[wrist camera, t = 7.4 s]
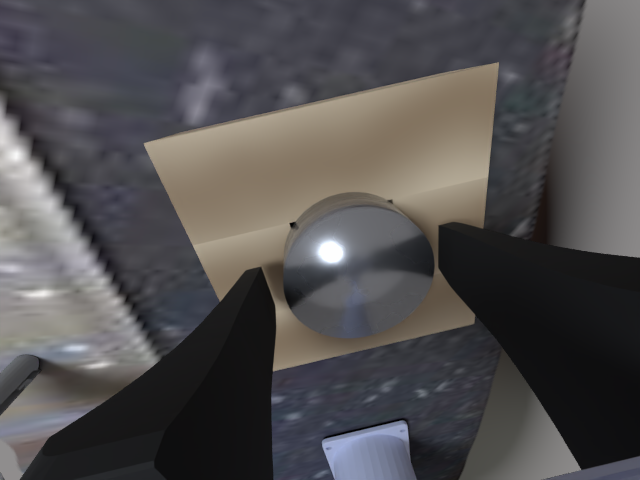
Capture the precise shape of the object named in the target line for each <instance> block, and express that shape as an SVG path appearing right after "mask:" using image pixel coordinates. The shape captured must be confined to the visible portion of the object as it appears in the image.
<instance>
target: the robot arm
mask: <svg viewBox="0 0 640 480" xmlns="http://www.w3.org/2000/svg"><path fill="white" fill-rule="evenodd" d="M438 268H439V270H440V271H441V273H442V275H443V276H444V278H445V279H446V281H447V282H448V284H449V285H450V287H451V288H452V289H453V290H454V291H455V293H456V294H457V295H458V296H459V297H460V298H461V299H462V301H463V302H464V303H465V304H466V305H467V306H468V307H469V308H470V310H471V311H472V312H473V313H474V314H475V315H476V316H477V317H478V318H479V320H480V321H481V322H482V323H483V324H484V325H485V326H486V327H487V329H488V330H489V331H490V332H491V333H492V335H493V336H494V337H495V338H496V339H497V341H498V342H499V343H500V345H501V346H502V347H503V349H504V350H505V352H506V353H507V354H508V356H509V357H510V358H511V360H512V361H513V363H514V364H515V365H516V367H517V368H518V370H519V371H520V373H521V374H522V376H523V377H524V378H525V380H526V381H527V383H528V384H529V386H530V387H531V389H532V390H533V392H534V393H535V395H536V396H537V398H538V399H539V401H540V402H541V404H542V406H543V407H544V409H545V410H546V412H547V413H548V415H549V417H550V418H551V420H552V421H553V423H554V425H555V426H556V428H557V429H558V431H559V433H560V434H561V436H562V437H563V439H564V441H565V443H566V444H567V446H568V448H569V449H570V451H571V453H572V454H573V456H574V458H575V459H576V461H577V463H578V465H579V466H580V468H581V470H580V471H576V472H572V473H568V474H563V475H559V476H555V477H551V478H547V479H543V480H640V258H637V257H628V256H618V255H610V254H601V253H594V252H587V251H581V250H575V249H568V248H562V247H557V246H552V245H547V244H542V243H538V242H533V241H529V240H525V239H520V238H516V237H512V236H509V235H505V234H501V233H497V232H494V231H490V230H486V229H483V228H479V227H475V226H471V225H467V224H463V223H458V222H450V223H446V224H442V225H438ZM275 340H276V307H275V303H274V300H273V298H272V295H271V292H270V289H269V287H268V284H267V281H266V278H265V276H264V273H263V270H262V267H257V268H252V269H248V270H246V271H245V272H244V273H243V274H242V275H241V276H240V278H239V279H238V280H237V282H236V283H235V284H234V285H233V287H232V288H231V289H230V290H229V292H228V293H227V294H226V295H225V296H224V298H223V299H222V300H221V301H220V303H219V304H218V305H217V306H216V307H215V308H214V309H213V310H212V312H211V313H210V314H209V315H208V316H207V317H206V318H205V319H204V321H203V322H202V323H201V324H200V325H199V326H198V327H197V328H196V329H195V330H194V331H193V332H192V333H191V334H190V335H189V336H188V337H187V338H185V339H184V340H183V341H182V342H181V343H180V344H179V345H178V346H177V347H176V348H175V349H173V350H172V351H171V352H170V353H169V354H167V355H166V356H165V357H164V358H163V359H161V360H160V361H159V362H158V363H157V364H155V365H154V366H153V367H152V368H150V369H149V370H148V371H147V372H145V373H144V374H143V375H142V376H140V377H139V378H138V379H136V380H135V381H133V382H132V383H131V384H129V385H128V386H127V387H125V388H124V389H122V390H121V391H120V392H118V393H117V394H115V395H114V396H113V397H111V398H110V399H108V400H107V401H105V402H104V403H102V404H101V405H99V406H98V407H96V408H95V409H93V410H92V411H90V412H89V413H87V414H85V415H84V416H82V417H81V418H79V419H78V420H76V421H75V422H73V423H71V424H70V425H68V426H67V427H65V428H64V429H62V430H60V431H59V432H57V433H56V434H54V435H52V436H51V437H49V439H48V440H47V441H46V443H45V444H44V446H43V447H42V448H41V450H40V451H39V453H38V454H37V456H36V457H35V459H34V460H33V461H32V463H31V464H30V466H29V467H28V469H27V470H26V471H25V473H24V474H23V476H22V477H21V479H20V480H273V460H272V425H271V387H272V374H273V363H274V352H275ZM322 447H323V449H324V452H325V455H326V457H327V460H328V463H329V465H330V468H331V471H332V473H333V476H334V478H335V480H417V479H416V476H415V473H414V470H413V467H412V464H411V460H410V448H409V436H408V426H407V423H406V421H403V420H402V421H397V422H393V423H389V424H384V425H380V426H376V427H372V428H368V429H363V430H359V431H355V432H351V433H347V434H342V435H338V436H334V437H330V438H326V439H324V440H323V441H322Z"/></svg>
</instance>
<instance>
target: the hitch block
mask: <svg viewBox="0 0 640 480" xmlns="http://www.w3.org/2000/svg"><path fill="white" fill-rule="evenodd" d="M498 66H499V63H493V64H488V65H483V66H477V67H472V68H467V69H462V70H456V71H451V72H446V73H440V74H436V75H431V76H427V77H422V78H418V79H414V80H409V81H405V82H400V83H396V84H392V85H387V86H383V87H378V88H374V89H370V90H365V91H361V92H357V93H352V94H348V95H343V96H339V97H335V98H330V99H326V100H321V101H317V102H313V103H308V104H304V105H299V106H295V107H291V108H286V109H282V110H277V111H273V112H269V113H264V114H260V115H256V116H251V117H247V118H242V119H238V120H234V121H229V122H225V123H220V124H216V125H212V126H207V127H203V128H198V129H194V130H190V131H185V132H182V133H178V134H175V135H171V136H168V137H164V138H161V139H157V140H154V141H150V142H147V143H143V144H144V146H145V148H146V150H147V152H148V154H149V156H150V158H151V160H152V162H153V164H154V166H155V168H156V171H157V173H158V175H159V177H160V179H161V181H162V183H163V185H164V187H165V189H166V191H167V193H168V195H169V197H170V199H171V201H172V203H173V206H174V208H175V210H176V212H177V214H178V216H179V218H180V220H181V222H182V224H183V226H184V228H185V230H186V232H187V234H188V236H189V239H190V241H191V243H192V245H193V247H194V249H195V251H196V253H197V255H198V257H199V259H200V261H201V263H202V265H203V267H204V269H205V272H206V274H207V276H208V278H209V280H210V282H211V284H212V286H213V288H214V290H215V292H216V294H217V296H218V298H219V300H220V301H221V300H222V299H223V298H224V296H225V295H226V294H227V293H228V292H229V290H230V289H231V288H232V287H233V285H234V284H235V283H236V282H237V280H238V279H239V278H240V276H241V275H242V274H243V273H244V272H245V271H246V270H248V269H252V268H257V267H262V270H263V273H264V276H265V278H266V281H267V284H268V287H269V289H270V292H271V295H272V298H273V300H274V303H275V307H276V340H275V352H274V363H273V371H276V370H281V369H285V368H289V367H293V366H298V365H302V364H306V363H310V362H315V361H319V360H323V359H327V358H331V357H336V356H340V355H344V354H348V353H353V352H357V351H361V350H365V349H370V348H374V347H378V346H382V345H387V344H391V343H395V342H399V341H404V340H408V339H412V338H416V337H421V336H425V335H429V334H433V333H438V332H442V331H446V330H450V329H454V328H459V327H463V326H467V325H471V324H474V321H475V314H474V313H473V312H472V311H471V310H470V308H469V307H468V306H467V305H466V304H465V303H464V302H463V301H462V299H461V298H460V297H459V296H458V295H457V294H456V293H455V291H454V290H453V289H452V288H451V287H450V285H449V284H448V282H447V281H446V279H445V278H444V276H443V275H442V273H441V271H440V270H439V268H438V225H442V224H446V223H450V222H458V223H463V224H467V225H471V226H475V227H479V228H483V225H484V215H485V204H486V194H487V183H488V172H489V162H490V151H491V141H492V130H493V119H494V109H495V98H496V87H497V77H498ZM346 192H363V193H369V194H373V195H377V196H379V197H382V198H384V199H386V200H387V201H389V202H391V203H392V204H393V205H395V206H396V207H397V208H398V209H399V210H400V211H401V212H402V213H403V214H404V215H405V216H407V217H408V218H409V219H410V220H411V221H412V222H413V223H414V224H415V225H416V226H417V227H418V228H419V229H420V230H421V231H422V232H423V233H424V235H425V236H426V238H427V239H428V241H429V243H430V245H431V247H432V250H433V254H434V262H435V268H434V276H433V280H432V283H431V286H430V289H429V291H428V293H427V294H426V296H425V298H424V299H423V301H422V302H421V304H420V305H419V306H418V307H417V308H416V309H415V311H413V312H412V313H411V314H410V315H409V316H408V317H407V318H405V319H404V320H403V321H402V322H400V323H398V324H397V325H395V326H393V327H391V328H389V329H387V330H385V331H383V332H380V333H377V334H374V335H370V336H366V337H360V338H336V337H331V336H326V335H323V334H320V333H318V332H316V331H314V330H311V329H310V328H308V327H307V326H305V325H304V324H303V323H301V322H300V321H299V320H298V319H297V318H296V317H295V315H294V314H293V313H292V311H291V310H290V308H289V306H288V304H287V301H286V299H285V295H284V287H283V262H284V246H285V242H286V238H287V236H288V233H289V231H290V229H291V228H292V226H293V224H294V223H295V222H296V220H297V219H298V218H299V217H300V216H301V215H302V213H303V212H304V211H306V210H307V209H308V208H309V207H311V206H312V205H314V204H315V203H317V202H319V201H320V200H323V199H325V198H327V197H329V196H333V195H336V194H340V193H346Z"/></svg>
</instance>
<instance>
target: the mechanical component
mask: <svg viewBox="0 0 640 480" xmlns="http://www.w3.org/2000/svg"><path fill="white" fill-rule="evenodd" d="M38 367H39V360H38V358H37V357H34V356H31V355H21V356H18V357H17V358H15V359H14V360H13V361H12V362H11V363H10V364H9V365H8V366H7V367H6V368H5V369H4V370H3V371H2V372H1V373H0V415H1V414H2V413H3V412H4V411H5V410H6V409H7V408H8V407H9V405H10V404H11V403H12V402H13V401H14V400H15V399H16V398H17V397H18V396H19V394H20V393H21V392H22V391H23V390H24V389H25V388H26V387H27V386H28V385H29V384H30V382H31V381H32V380H33V379H34V378H35V377H36V376H37V375H38V374H39V373H40V371H41V370H38ZM0 480H4V478H3V476H2V474H1V473H0Z"/></svg>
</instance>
